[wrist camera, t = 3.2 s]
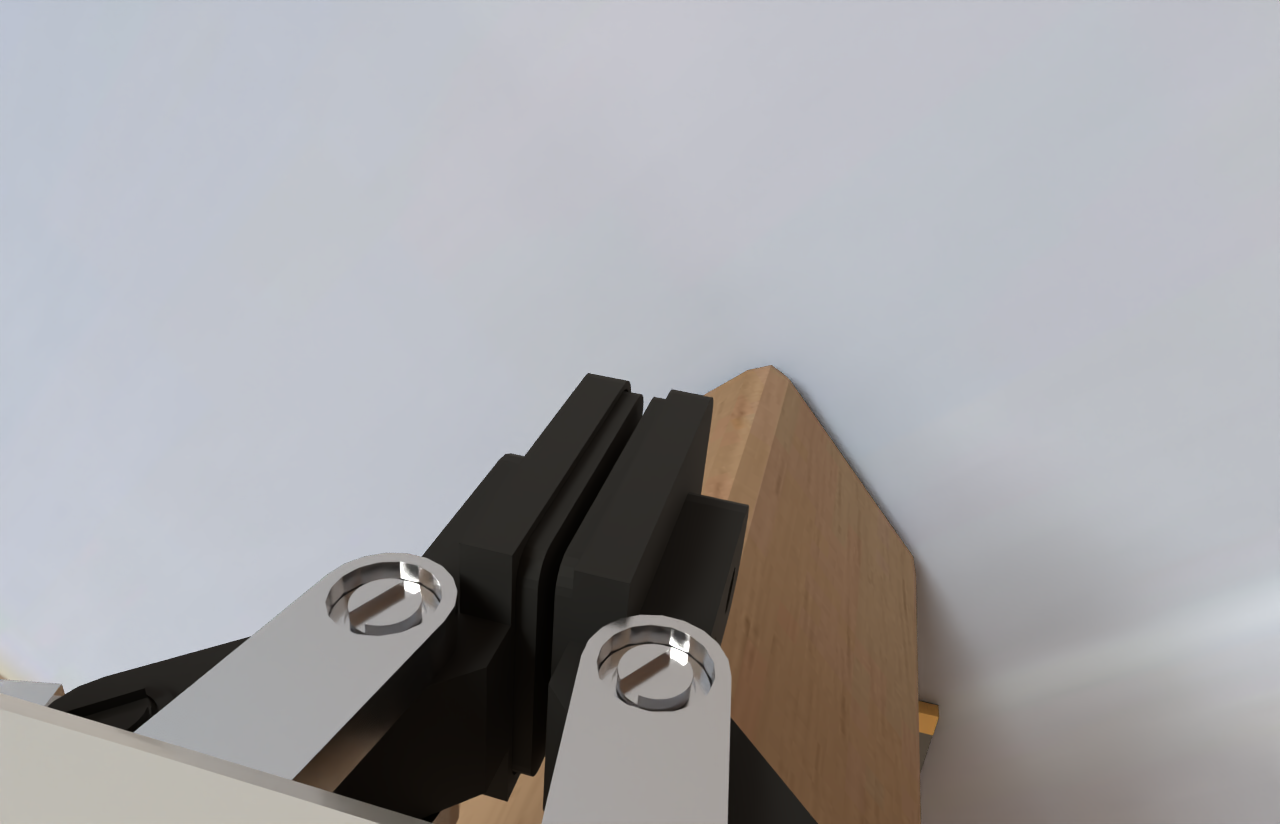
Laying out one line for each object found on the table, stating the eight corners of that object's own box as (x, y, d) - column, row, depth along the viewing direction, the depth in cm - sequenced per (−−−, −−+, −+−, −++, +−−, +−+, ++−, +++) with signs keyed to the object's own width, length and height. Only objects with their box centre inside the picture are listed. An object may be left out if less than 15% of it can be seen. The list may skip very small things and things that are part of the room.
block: (926, 561, 33) (953, 1237, 15) (707, 649, 37) (539, 1247, 20) (776, 344, 30) (611, 854, 13) (562, 467, 35) (233, 963, 18)
